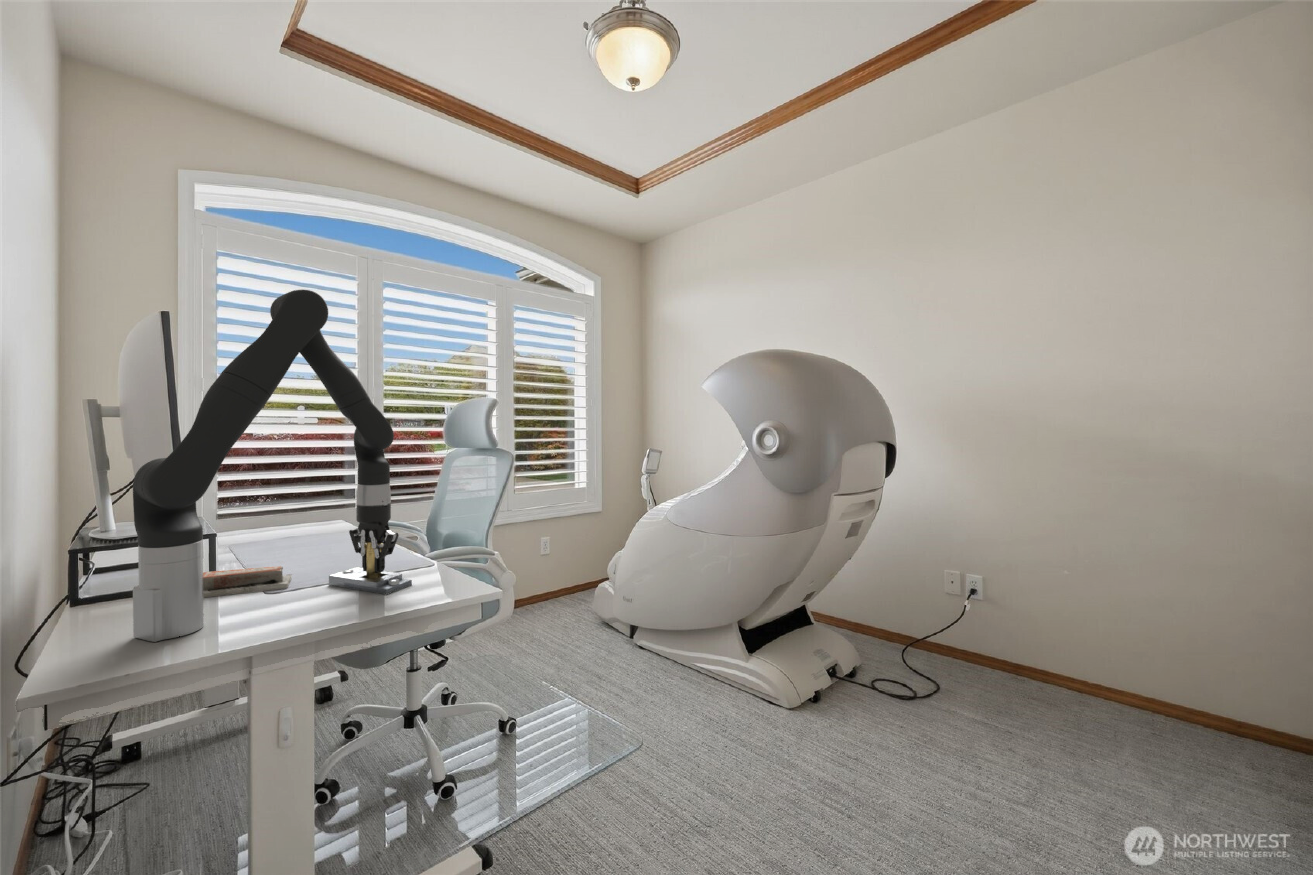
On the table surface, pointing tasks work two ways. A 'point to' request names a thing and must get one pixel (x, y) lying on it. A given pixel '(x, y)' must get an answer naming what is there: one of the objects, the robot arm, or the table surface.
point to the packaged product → (244, 581)
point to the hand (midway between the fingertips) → (373, 570)
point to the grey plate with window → (369, 581)
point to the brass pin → (371, 562)
